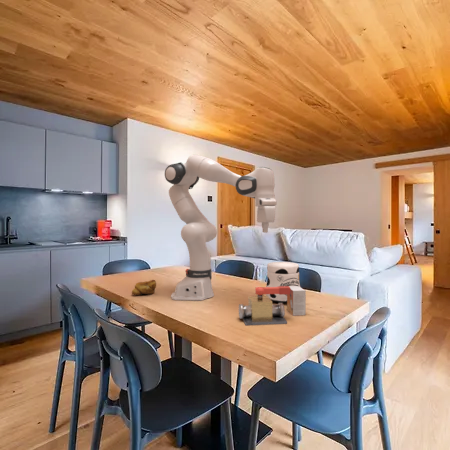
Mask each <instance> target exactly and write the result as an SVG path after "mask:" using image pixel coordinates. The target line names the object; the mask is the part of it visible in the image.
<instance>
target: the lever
mask: <svg viewBox="0 0 450 450" xmlns="http://www.w3.org/2000/svg"><path fill="white" fill-rule="evenodd" d="M254 291H255V294H256V295H257V294H258V295H262V296H264V295H266V294H279V295H282V294H290V287H289V286H278V287H266V286H264V287H263V286H257V287H255V290H254Z"/></svg>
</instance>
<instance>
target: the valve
mask: <svg viewBox="0 0 450 450" xmlns="http://www.w3.org/2000/svg"><path fill="white" fill-rule="evenodd" d="M285 312H286V310H285V305H284V303H281V302H277V304H273V301H272V300H271V299H270V298H269V297H268V296H266V295H258V294H256V296H255V295H253V296H248V305H244V304H243V303H241V304H238V317H239V319H240V320H242V321H243V323H244V325H245V326H261V325H262V326H265V325H284V324H285V325H286V324H287V323H288V320H287V319H286V318H285V316H286V313H285Z"/></svg>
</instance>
